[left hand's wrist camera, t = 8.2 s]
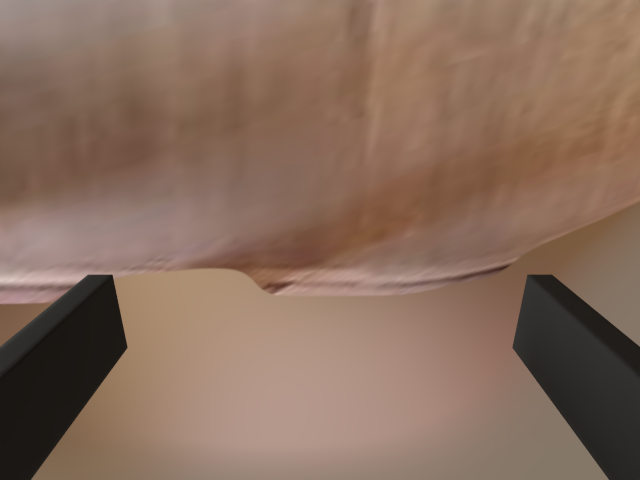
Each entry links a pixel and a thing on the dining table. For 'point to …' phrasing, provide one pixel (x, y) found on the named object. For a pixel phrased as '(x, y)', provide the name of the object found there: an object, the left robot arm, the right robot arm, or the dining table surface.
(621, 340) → the left robot arm
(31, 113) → the dining table surface
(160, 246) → the dining table surface
